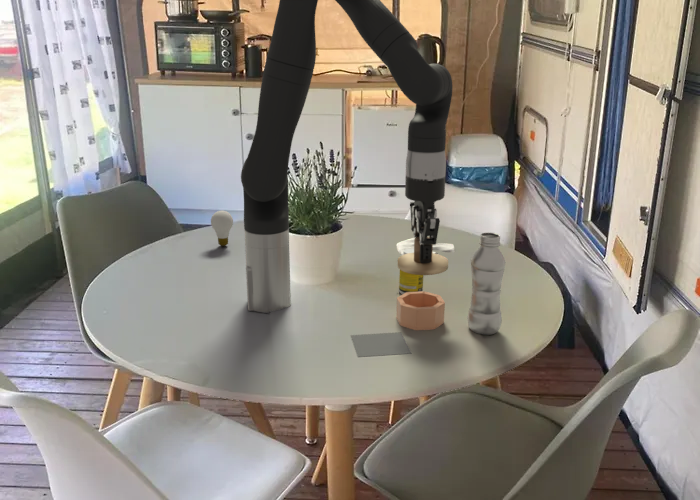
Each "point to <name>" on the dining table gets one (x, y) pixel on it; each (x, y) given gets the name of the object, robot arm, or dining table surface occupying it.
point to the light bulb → (222, 226)
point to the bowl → (420, 310)
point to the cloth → (438, 246)
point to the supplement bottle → (410, 280)
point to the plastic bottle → (486, 285)
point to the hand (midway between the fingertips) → (422, 258)
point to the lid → (414, 266)
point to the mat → (380, 344)
